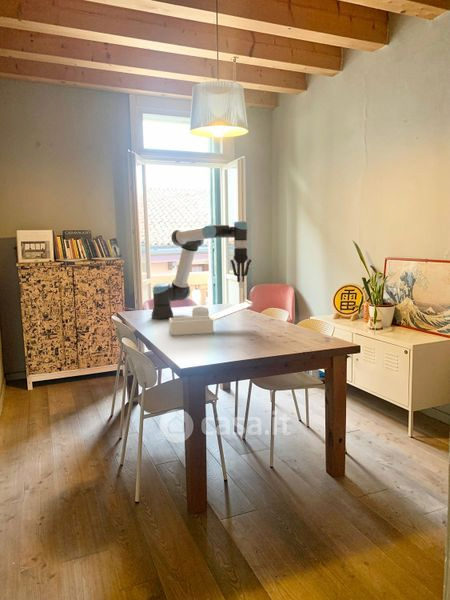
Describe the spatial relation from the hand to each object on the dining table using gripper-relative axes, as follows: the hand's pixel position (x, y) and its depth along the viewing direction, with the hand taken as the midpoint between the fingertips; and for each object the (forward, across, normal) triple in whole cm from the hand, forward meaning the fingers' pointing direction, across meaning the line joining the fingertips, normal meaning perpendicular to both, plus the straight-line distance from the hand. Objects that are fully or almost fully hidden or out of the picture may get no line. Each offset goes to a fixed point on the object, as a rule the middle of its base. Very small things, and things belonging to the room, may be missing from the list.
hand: (240, 287), depth 265 cm
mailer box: (+26, -30, 0) cm, 40 cm away
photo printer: (+26, -22, +15) cm, 37 cm away
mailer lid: (+12, -7, 0) cm, 14 cm away
